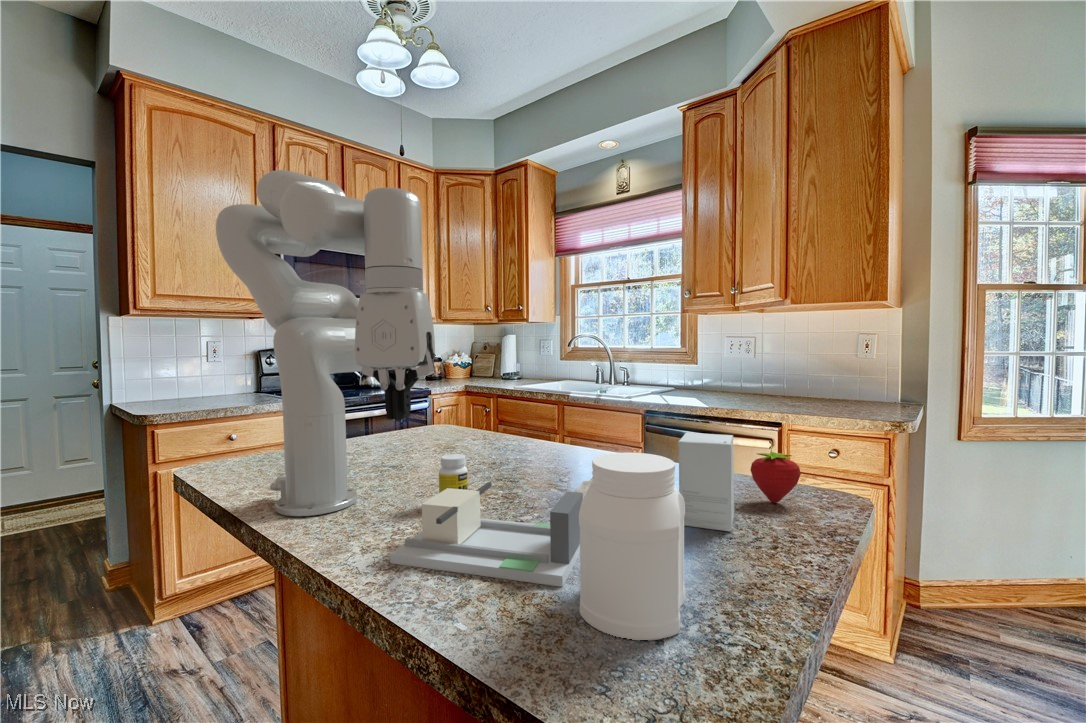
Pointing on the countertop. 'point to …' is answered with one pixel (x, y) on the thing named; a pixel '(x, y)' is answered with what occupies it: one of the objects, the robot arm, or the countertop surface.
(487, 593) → the countertop surface
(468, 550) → the board
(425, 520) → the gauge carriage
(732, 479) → the supplement box
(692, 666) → the countertop surface
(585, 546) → the jar
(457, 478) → the supplement bottle
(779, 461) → the strawberry
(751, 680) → the countertop surface
